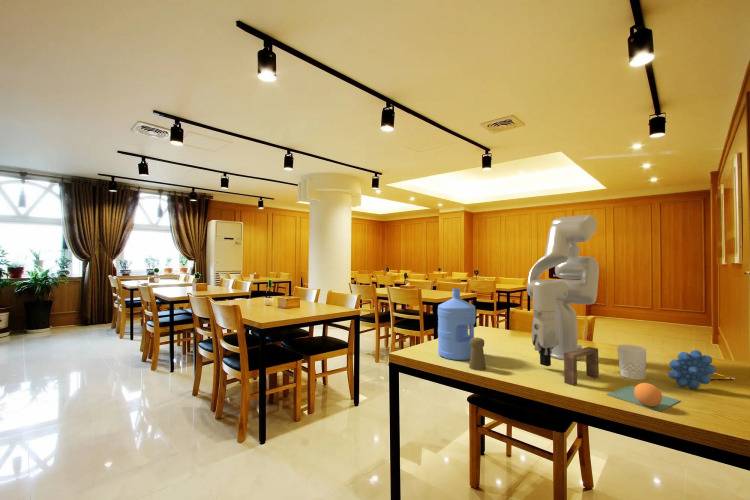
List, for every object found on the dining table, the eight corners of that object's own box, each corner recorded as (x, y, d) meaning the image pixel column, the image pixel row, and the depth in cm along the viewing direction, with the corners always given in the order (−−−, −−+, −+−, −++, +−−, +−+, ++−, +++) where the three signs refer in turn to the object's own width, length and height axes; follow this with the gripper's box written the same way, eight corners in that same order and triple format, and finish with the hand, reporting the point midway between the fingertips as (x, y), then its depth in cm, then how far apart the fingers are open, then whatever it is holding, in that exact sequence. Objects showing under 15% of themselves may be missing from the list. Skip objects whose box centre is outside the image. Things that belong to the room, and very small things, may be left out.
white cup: (641, 374, 118) (640, 345, 118) (651, 381, 111) (650, 351, 111) (615, 371, 121) (614, 343, 121) (623, 379, 113) (622, 349, 114)
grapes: (707, 386, 107) (706, 347, 107) (721, 394, 100) (720, 353, 101) (662, 381, 111) (661, 345, 111) (673, 389, 104) (672, 350, 105)
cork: (487, 370, 123) (486, 340, 123) (469, 369, 124) (469, 339, 124) (485, 365, 128) (484, 336, 129) (468, 364, 130) (468, 335, 130)
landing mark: (627, 386, 107) (627, 385, 107) (680, 401, 96) (680, 400, 96) (606, 394, 100) (606, 394, 100) (660, 411, 89) (660, 410, 89)
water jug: (432, 356, 140) (431, 289, 141) (446, 348, 153) (446, 286, 154) (468, 363, 132) (467, 291, 132) (481, 353, 144) (480, 288, 145)
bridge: (564, 382, 110) (563, 352, 111) (589, 374, 118) (588, 346, 118) (573, 385, 108) (573, 355, 108) (598, 377, 115) (598, 348, 115)
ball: (649, 407, 95) (635, 385, 98) (671, 401, 91) (656, 379, 94) (638, 410, 92) (625, 387, 95) (661, 404, 88) (645, 381, 91)
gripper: (541, 318, 118) (542, 371, 117) (566, 314, 125) (567, 364, 125) (522, 315, 124) (523, 365, 124) (547, 311, 132) (548, 359, 131)
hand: (545, 365), depth 124 cm, fingers closed
